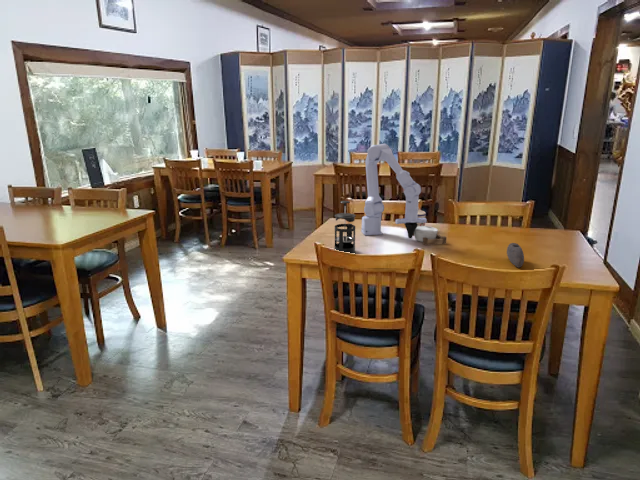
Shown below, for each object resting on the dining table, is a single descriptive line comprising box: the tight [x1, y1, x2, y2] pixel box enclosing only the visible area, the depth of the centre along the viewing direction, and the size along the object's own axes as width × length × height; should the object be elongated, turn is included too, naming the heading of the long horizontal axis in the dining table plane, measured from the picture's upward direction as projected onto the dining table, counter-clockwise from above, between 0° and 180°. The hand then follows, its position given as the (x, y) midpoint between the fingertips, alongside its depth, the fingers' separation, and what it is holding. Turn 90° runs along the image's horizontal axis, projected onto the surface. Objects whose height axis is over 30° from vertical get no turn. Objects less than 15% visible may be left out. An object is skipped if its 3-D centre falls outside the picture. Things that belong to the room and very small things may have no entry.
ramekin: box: [413, 225, 439, 243], centre depth 210 cm, size 11×11×5 cm
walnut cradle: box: [412, 232, 448, 246], centre depth 211 cm, size 11×17×3 cm, turn 8°
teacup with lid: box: [417, 206, 427, 227], centre depth 228 cm, size 12×9×12 cm
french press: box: [334, 200, 357, 254], centre depth 190 cm, size 12×9×23 cm
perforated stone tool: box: [506, 242, 525, 268], centre depth 177 cm, size 15×5×7 cm, turn 167°
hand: (410, 237), depth 210 cm, fingers closed
